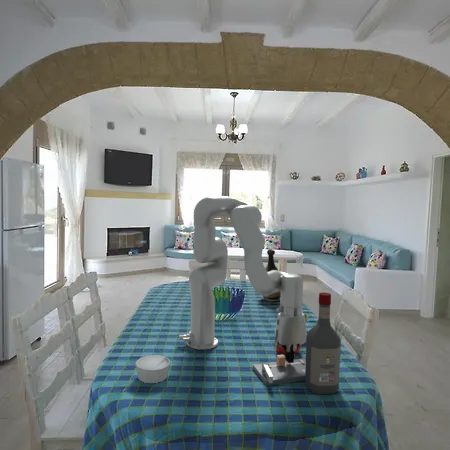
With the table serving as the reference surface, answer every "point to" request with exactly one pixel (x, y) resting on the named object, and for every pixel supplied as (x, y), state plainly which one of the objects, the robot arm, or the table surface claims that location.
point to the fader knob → (280, 360)
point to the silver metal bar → (267, 372)
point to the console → (283, 372)
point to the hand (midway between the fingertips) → (289, 361)
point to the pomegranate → (282, 350)
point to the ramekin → (152, 368)
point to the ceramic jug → (271, 267)
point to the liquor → (323, 352)
